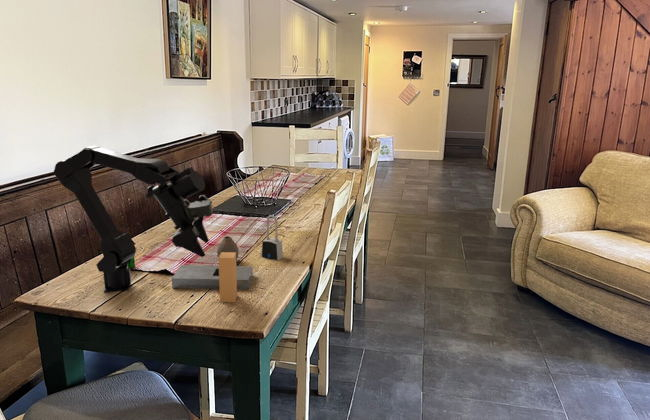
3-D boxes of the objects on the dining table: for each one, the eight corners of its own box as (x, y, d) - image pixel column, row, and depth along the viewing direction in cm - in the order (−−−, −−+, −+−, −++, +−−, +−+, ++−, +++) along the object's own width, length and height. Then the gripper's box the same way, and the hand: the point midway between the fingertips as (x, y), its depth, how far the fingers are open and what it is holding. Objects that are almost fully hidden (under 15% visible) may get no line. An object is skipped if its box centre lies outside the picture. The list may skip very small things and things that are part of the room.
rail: (172, 287, 139) (171, 278, 138) (181, 273, 149) (181, 264, 148) (248, 289, 139) (248, 279, 139) (252, 275, 149) (252, 266, 148)
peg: (220, 301, 132) (218, 257, 128) (222, 295, 135) (221, 252, 132) (234, 302, 132) (233, 258, 128) (236, 295, 135) (235, 252, 132)
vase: (218, 267, 155) (217, 241, 152) (216, 259, 161) (216, 234, 158) (239, 265, 156) (239, 240, 154) (237, 257, 163) (237, 233, 160)
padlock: (283, 256, 165) (283, 215, 160) (277, 261, 161) (277, 218, 157) (267, 253, 167) (266, 212, 163) (260, 257, 164) (260, 215, 159)
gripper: (194, 201, 119) (228, 250, 125) (203, 178, 137) (232, 222, 142) (156, 222, 120) (191, 269, 126) (169, 197, 137) (200, 239, 143)
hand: (205, 248), depth 134 cm, fingers open, 9 cm apart
